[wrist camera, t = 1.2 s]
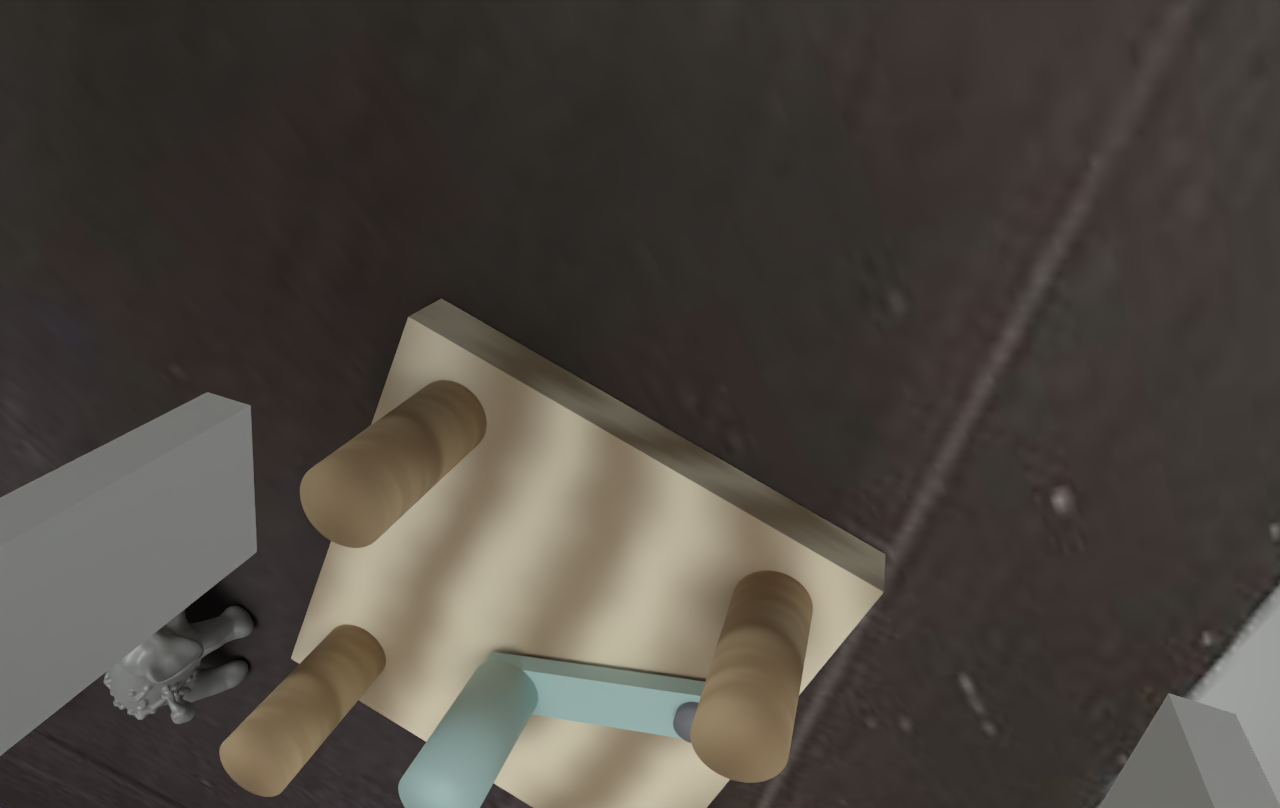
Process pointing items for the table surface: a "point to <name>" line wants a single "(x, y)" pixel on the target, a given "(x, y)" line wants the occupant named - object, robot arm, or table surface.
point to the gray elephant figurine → (178, 666)
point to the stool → (553, 578)
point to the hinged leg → (521, 686)
